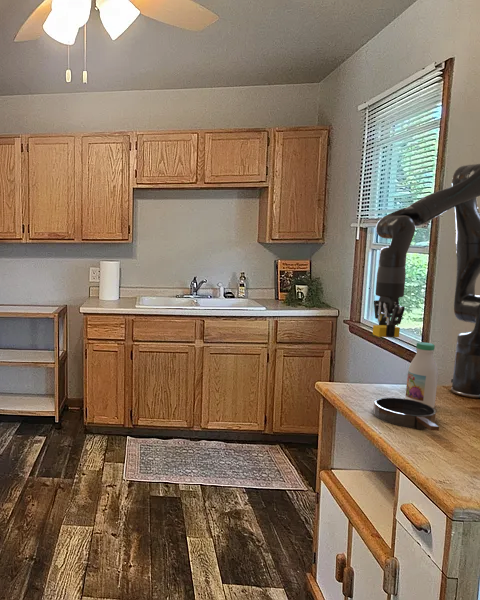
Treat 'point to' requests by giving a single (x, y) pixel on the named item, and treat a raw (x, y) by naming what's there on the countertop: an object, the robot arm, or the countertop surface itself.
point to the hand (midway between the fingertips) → (386, 334)
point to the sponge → (384, 330)
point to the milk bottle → (422, 375)
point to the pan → (402, 411)
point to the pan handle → (425, 424)
